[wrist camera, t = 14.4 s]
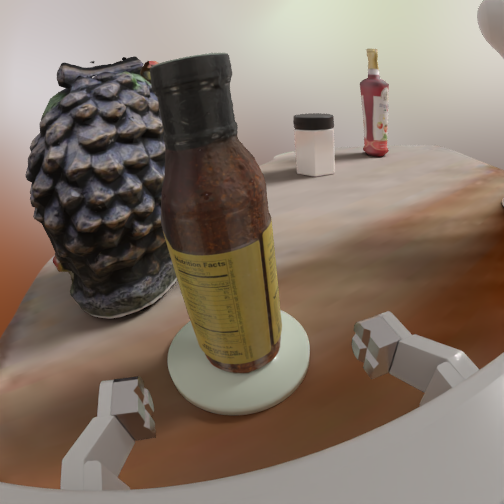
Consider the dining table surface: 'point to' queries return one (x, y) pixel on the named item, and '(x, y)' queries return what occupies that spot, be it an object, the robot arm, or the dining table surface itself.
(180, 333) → the round plate
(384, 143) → the liquor
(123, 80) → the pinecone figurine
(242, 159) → the sauce bottle
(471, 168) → the dining table surface
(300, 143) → the jar
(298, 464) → the robot arm
